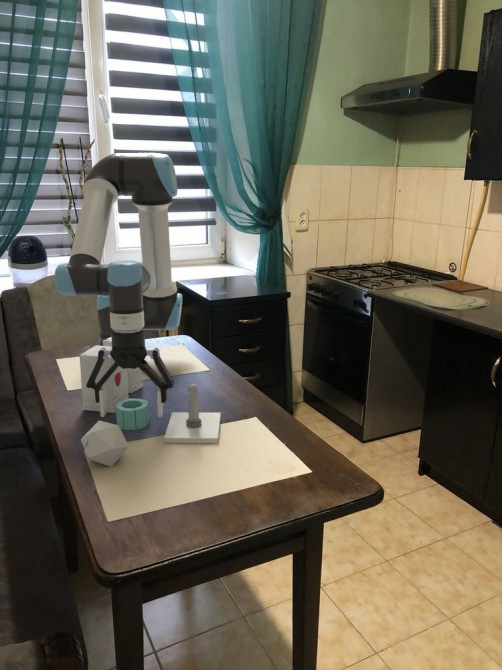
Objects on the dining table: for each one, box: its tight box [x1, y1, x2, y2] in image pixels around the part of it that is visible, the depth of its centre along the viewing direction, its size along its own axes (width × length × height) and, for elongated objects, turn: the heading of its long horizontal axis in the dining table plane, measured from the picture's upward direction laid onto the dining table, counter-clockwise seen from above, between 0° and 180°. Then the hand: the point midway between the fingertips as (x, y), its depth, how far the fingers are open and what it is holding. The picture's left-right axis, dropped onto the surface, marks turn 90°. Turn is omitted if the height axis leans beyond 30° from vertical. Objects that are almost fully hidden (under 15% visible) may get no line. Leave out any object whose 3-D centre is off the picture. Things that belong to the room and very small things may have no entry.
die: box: [80, 420, 130, 467], centre depth 112 cm, size 8×9×10 cm
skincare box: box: [103, 337, 143, 394], centre depth 150 cm, size 8×6×15 cm
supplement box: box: [78, 345, 130, 414], centre depth 139 cm, size 9×9×15 cm
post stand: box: [163, 383, 221, 444], centre depth 126 cm, size 14×12×11 cm
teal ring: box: [115, 398, 150, 431], centre depth 130 cm, size 7×7×5 cm
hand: (132, 415), depth 129 cm, fingers open, 13 cm apart
